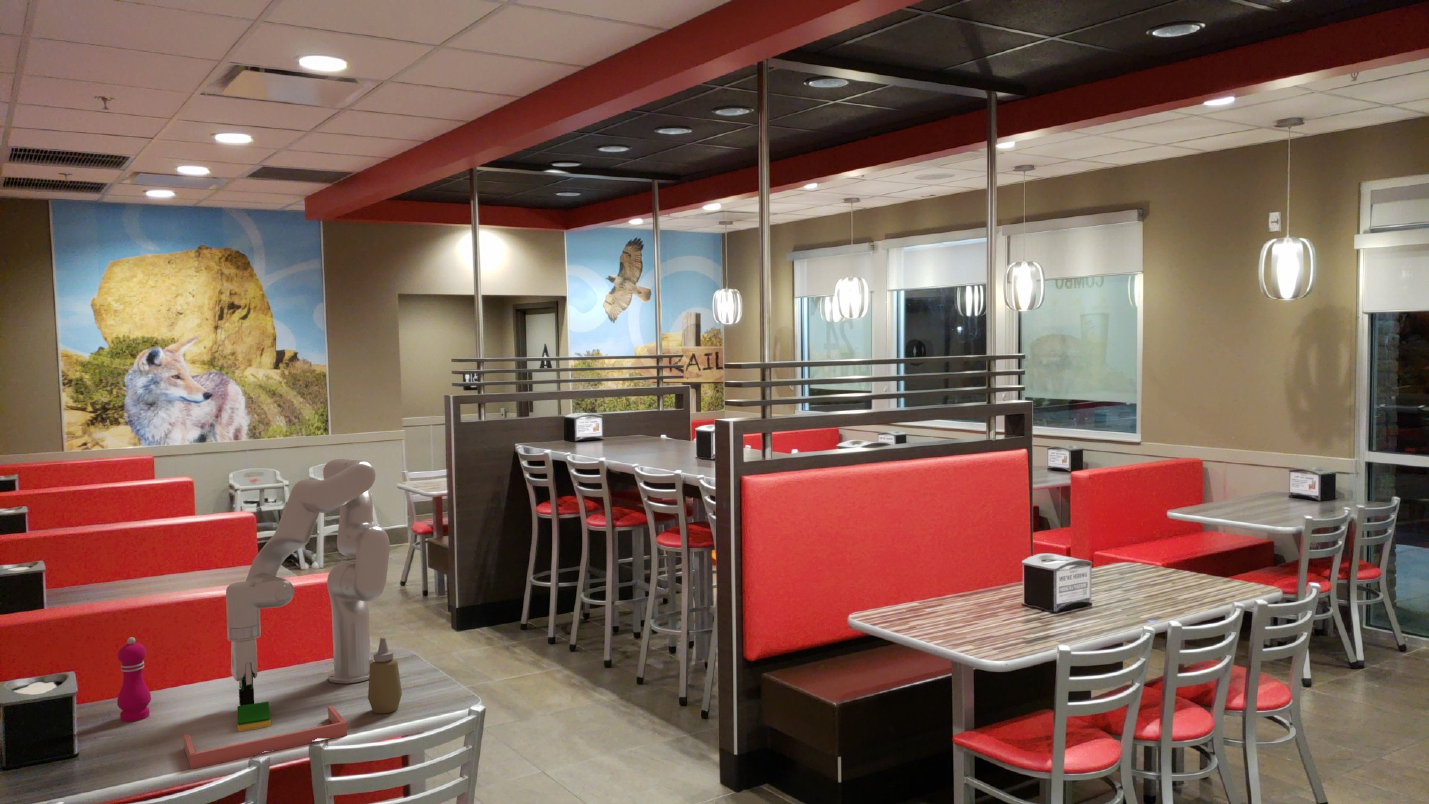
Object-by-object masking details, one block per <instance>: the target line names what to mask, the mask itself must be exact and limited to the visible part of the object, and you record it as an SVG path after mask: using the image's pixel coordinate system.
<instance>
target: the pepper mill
mask: <svg viewBox="0 0 1429 804" xmlns="http://www.w3.org/2000/svg"><path fill="white" fill-rule="evenodd" d="M126 643H127V644H124V645H123V646H121V647H120V649H119V650H118V653H117V659H118V661H119V663H121V664H120V668H121V669H120V671H121V672H122V674H123V675H122V677H123V681H122V684H121V688H120V689H119V693H118V694H117V695H118V696H117V698H116V699H117V703H116V706H117V707H118V708H119V709H120V710H121V711H120V712H119V720H120V721H121V722H123V723H129V722H131V723H132V722H137V721H142V720H145V719H147V718H148V717H150V707H149V706H148V705H149V704H150V702H151V700H152V696H151V692H150V690H149V688H148V686H147V684H146V682H145V680H144V675H143V669H144V668H145V662H144V659H145V658H146V655H147V649H146V648H145V646H144V645H143V644H141V643H138V642H136V638H135V637H132V636H131V637H128V639H127V640H126Z"/></svg>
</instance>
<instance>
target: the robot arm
mask: <svg viewBox="0 0 1429 804" xmlns="http://www.w3.org/2000/svg"><path fill="white" fill-rule="evenodd" d="M322 476H323V479H321V480H320V479H314V478H313V479H312V478H310V479H309V478H308V479H306V478H305V479H302V480H299V481H297V482H296V483H295V484H294V485H293V487H292V489H291V491H290V494H289V496H288V498H287V500H286V501H287V502H286V504H285V507H284V509H283V511H282V513H281V517H280V519H279V522H278V525H277V528H276V530H275V532H274V534H273V535H272V537H270V538H269V540H268V541H266V542H265V544H264V545H263V547H262V548H261V549H260V551H258V553H257V555H255V557H254V559H253V561H252V563H251V565H250V568H249V570H248V574H247V577H246V580H245V581H239V582H238V581H237V582H234V583H230V584H229V585H228V586H227V587H226V589H225V602H226V603H225V604H226V605H225V606H226V626H227V627H226V631H227V641H228V642H231V646H230V647H231V648H230V650H231V651H230V652H231V653H230V654H231V655H230V657H231V658H230V660H231V661H230V663H231V665H230V668H231V669H230V671H231V675H232V677H233V679H234V681H236V682H238V685H239V686H238V687H239V689H238V698H239V700H238V701H239V702H238V703H239V706H242V705H248V704H255V689H254V679H256V678H257V677H258V649H257V639H258V638H260V637H261V636H262V635H261V634H262V633H261V609H275V608H281V607H283V606H287V605H289V603H290V602H291V601H292V600H293V598H294V595H295V586H294V585H293V584H292V582H290V581H289V580H288V579H286V578H283V577H279V576H277V575H278V572H279V569H280V568H281V566H282V565H283V563H284V562H285V560H286V559H287V558H288V557H289V556H291V555H292V554H293V553H294V552H296V551H298V550H301V549H302V548H303V547H305V546H306V545H307V544H308V543H309V542H310V539H311V536H312V534H313V531H314V529H315V526H316V523H317V520H318V518H319V515H320V513H321V514H326V513H327V514H328V513H331V512H333V511H335V510H338V509H339V520H338V527H337V528H338V530H337V535H336V536H337V537H336V547H337V551H338V552H339V553H340V554H341V555H343V556H344V557H348V558H353V559H355V560H356V561H355V562H351V561H343V562H339V563H338V564H336V565H334V566H333V567H332V568H331V570H330V571H329V572H328V575H327V581H326V583H327V584H326V585H327V591H328V596H329V600H330V606H331V607H330V608H331V620H332V621H331V622H332V623H331V625H332V645H333V646H332V648H333V651H332V652H333V669H334V671H331V672H330V673H329V674H328V681H329V682H331V683H334V684H354V683H359V682H364V681H365V682H366V681H369V674H370V664H371V663H372V662H373V661H374V657H372V656H371V655H372V654H371V636H370V635H371V634H370V632H371V630H370V628H371V627H370V611H369V605H368V602H373V601H374V600H376V599H378V598H379V597H380V596H381V595H382V594H383V592H384V590H385V587H386V583H387V577H388V571H389V570H388V569H389V568H388V567H389V558H390V549H391V545H390V544H391V543H390V538H389V536H388V533H387V531H385V529H384V528H383V527H381V526H379V525H375V524H373V508H374V503H373V497H372V493H371V492H370V489H371V487H373V485H374V483H375V480H376V476H377V475H376V471H375V468H374V466H373V465H372V464H370V462H368V461H364V460H357V459H347V458H346V459H345V458H337V459H336V458H335V459H331V460H330V461H328V462H326V464H324V467H323V470H322Z"/></svg>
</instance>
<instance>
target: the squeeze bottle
mask: <svg viewBox="0 0 1429 804" xmlns="http://www.w3.org/2000/svg"><path fill="white" fill-rule="evenodd" d="M379 639H380V640H379V644H378V649H377V651H376V652H374V653H373V659H374V661H373V662H372V663H371V664H370V674H369V679H368V691H367V699H368V702H369V705H370V707H371V709H372V712H373V713H375V714H388V713H389V714H390V713H392V712H395V711H397V710H399V705H400V702H401V698H402V694H403V692H402V684H401V676H400V671H399V670H400V669H399V663H398V660H396V659H395V658H394V651H393V650H389V647H388V643H387V639H386V637H380V638H379Z"/></svg>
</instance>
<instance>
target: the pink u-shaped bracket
mask: <svg viewBox="0 0 1429 804" xmlns="http://www.w3.org/2000/svg"><path fill="white" fill-rule="evenodd" d="M327 715H328V720H329V721H330V723H331V724H327V725H320V726H316V727H312V728H308V729H302V730H297V731H293V732H292V731H291V732H287V733H283V734H278V735H273V736H267V737H265V738H260V739H253V740H249V741H244V742H240V743H234V744H231V745H225V746H221V747H216V748H210V749H206V750H202V751H198V752H196V751H195V750H196V749H195V748H194V745H193V742H192V739H191V737H190V733H187V734H183V745H184V747H183V748H184V751H185V754H186V758H187V761H188V764H189V767H190V769H191V770H192V769H193V770H194V769H197V768H198V769H199V768H202V767H207V766H211V765H216V764H219V763H221V764H222V763H225V762H230V761H234V760H238V759H243V758H248V757H253V756H252V755H254V756H256V755H255V754H258V755H261V754H260V753H262V752H264V751H272V750H277V751H281V750H280V749H282V750H284V749H286V750H287V749H290V748H294V747H295V746H296V747H299V746H304V744H305V745H309V744H311V743H310V742H312V740H315V739H317V738H333V739H335V738H334V737H337V738H341V736H342V737H345V736H344V735H346V736H347V735H348V729H347V727H348V726H347V721H346V720H345V719H344V718H343V716H341V714H340V713H339V712H338V711H337V710H336V709H335V707H334V706H333V705H328V706H327ZM308 743H309V744H308ZM272 752H273V751H272Z"/></svg>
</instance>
